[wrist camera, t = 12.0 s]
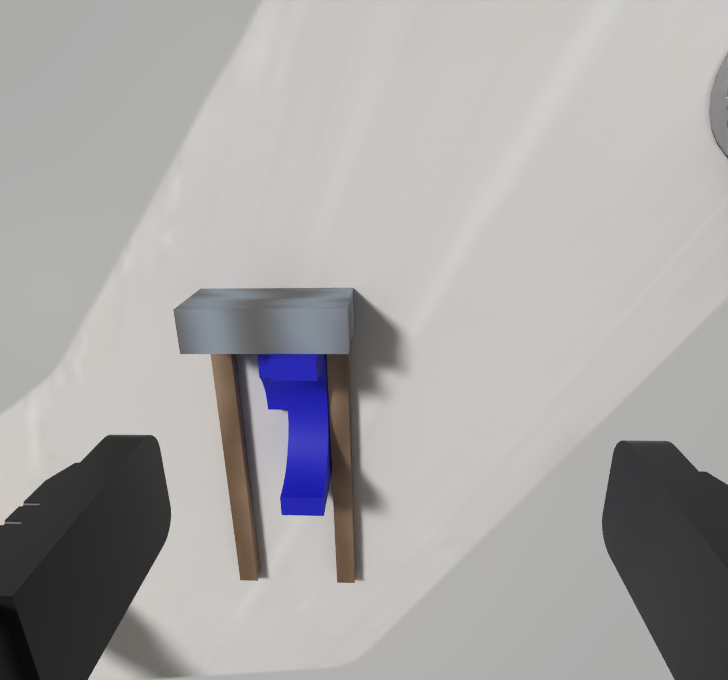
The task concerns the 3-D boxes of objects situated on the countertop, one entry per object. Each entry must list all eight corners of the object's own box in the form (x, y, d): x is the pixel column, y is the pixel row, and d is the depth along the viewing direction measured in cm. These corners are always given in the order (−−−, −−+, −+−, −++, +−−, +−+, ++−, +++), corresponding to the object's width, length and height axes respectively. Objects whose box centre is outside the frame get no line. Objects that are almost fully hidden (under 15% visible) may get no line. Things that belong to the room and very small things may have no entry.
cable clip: (266, 327, 39) (245, 358, 33) (326, 327, 38) (315, 359, 33) (278, 465, 43) (260, 514, 37) (332, 466, 43) (323, 515, 37)
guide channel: (353, 287, 37) (347, 309, 32) (360, 574, 46) (357, 622, 42) (200, 288, 38) (173, 309, 33) (238, 571, 47) (221, 618, 42)
